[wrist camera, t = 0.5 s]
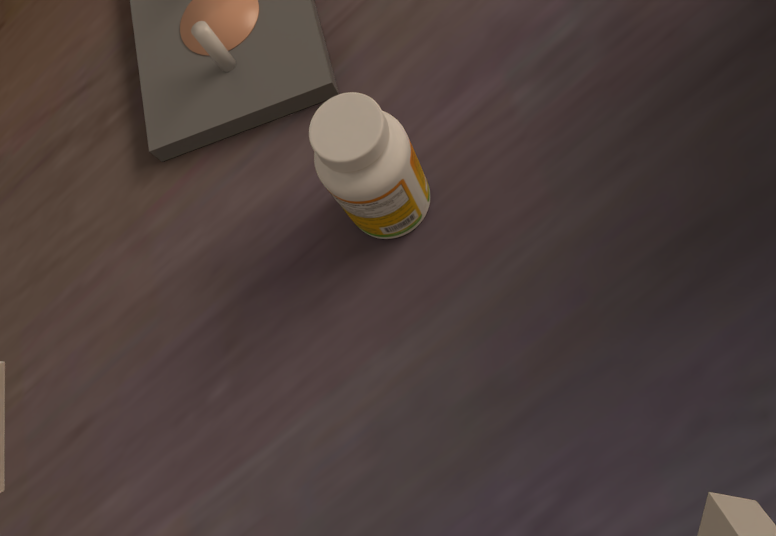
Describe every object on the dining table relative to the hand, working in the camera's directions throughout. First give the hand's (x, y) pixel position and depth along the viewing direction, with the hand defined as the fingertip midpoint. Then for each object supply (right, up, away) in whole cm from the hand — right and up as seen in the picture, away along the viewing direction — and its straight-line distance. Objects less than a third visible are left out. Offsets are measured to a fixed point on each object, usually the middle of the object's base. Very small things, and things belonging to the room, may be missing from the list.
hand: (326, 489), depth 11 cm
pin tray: (-11, +22, +36) cm, 44 cm away
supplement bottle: (+1, +8, +29) cm, 30 cm away
